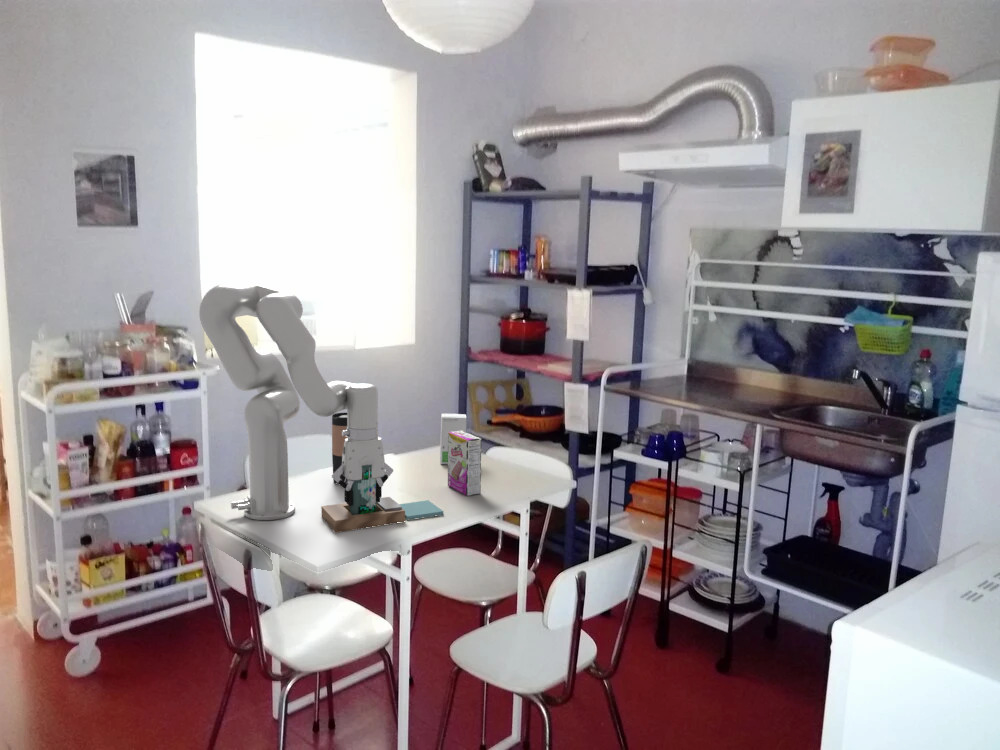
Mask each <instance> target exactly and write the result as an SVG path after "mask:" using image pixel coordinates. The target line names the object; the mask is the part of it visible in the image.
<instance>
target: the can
mask: <svg viewBox="0 0 1000 750" xmlns="http://www.w3.org/2000/svg"><path fill="white" fill-rule="evenodd" d="M369 468H370V469H369ZM369 470H370V478H369ZM351 490H352V491H353V505H352V506H350V513H351V514H352V515H359V514H366V513H373V512H376V479H373V478H372V465H365V466H362V480H358V481H354V482H353V484H352V487H351Z"/></svg>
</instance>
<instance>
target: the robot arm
mask: <svg viewBox="0 0 1000 750" xmlns="http://www.w3.org/2000/svg"><path fill="white" fill-rule="evenodd" d="M303 309H304V308H303V304H302V302H301V300H300V299H299V298H298V297H297V296H296V295H295V294H293V293H291V292H288V291H284V290H280V289H276V288H272V287H268V286H264V285H261V284H256V283H253V282H246V281H245V282H231V283H222V284H218V285H215V286H213V287H212V288H211V289H209V290H208V291H207V292H206V293H205V295H204V296H203V298H202V300H201V302H200V305H199V315H198V316H199V321H200V325H201V327H202V329H203V331H204V332H205V335H206V336H207V338H208V339H209V341H210V343H211V344H212V345H211V346H213V348H214V350H215V352H216V355H217V356H218V358H219V360H220V362H221V364H222V366H223V368H224V370H225V371H226V373H227V376H228V377H229V379H230V381H231V382H232V385H233V386H234V387H235V388H236V389H237V390H238V391H239V390H240V391H241V392H251V391H254V390H256V391H257V394H255V395H254V396H253V397H252V398H250V399H249V401H247V403H246V405H245V407H244V413H243V414H244V416H243V417H244V423H245V428H246V432H247V433H246V435H247V441H248V444H247V445H248V465H249V470H248V471H249V494H247V496H246V497H247V498H243V500H233V501H230V507H231V510H235V509H237V510H238V511H244V512H243V513H244V514H243V516H245V517H246V518H247V519H251V520H254V521H274V520H280V519H284V518H288V517H289V516H290V517H291V516H292V515H293V514H294V513H296V506H295V505H294V504H293V503H292V502H289V501H290V498H289V497H290V493H289V492H290V491H289V488H290V487H289V452H288V450H289V449H288V438H287V435H286V431H285V424H286V423H288V422H290V421H291V420H293V419H294V418H295V417H296V416H298V413H299V411H300V407H301V402H300V398H301V399H302V401H303V402H304V403H305V405H306V406H307V408H308V409H309V410H310V411H311V412H312V413H313V414H315V415H316V416H320V417H323V418H325V417H330V416H331V417H332V415H333V414H336V413H339V412H341V411H344V410H346V413H347V429H346V430H345V431H342V436H347V439H345V442H344V448H343V455H342V465H341V466H340V467H339V468H338V469H337V470H336V471H335V473H334V474H333V473H332V475H331V478H332V479H334V480H335V481H336V482H337V483H338V484H337V485H339V484H340V485H339V486H341V487H342V488H343V489H344V496H343V497H344V503H347V504H348V505H349V506H352V505H353V491H352V490H351V487H352V484H353V482H354V481H358V480H362V466H365V465H372V478H373V479H376V502H380V498H382V489H383V487H384V484H385V483H386V481H387V480H389V477H390V476H391V475H392V474H393V472H394V469H393V468H392V467H391V466H390V465H388V464H387V463H386V462H385V453H384V451H385V450H384V445H383V441H382V440H383V439H382V437H379V391H378V387H377V386H376V385H375V384H372V383H354V382H353V383H352V382H348V381H342V380H332V381H329V382H327V381H326V380H325V379H324V377H323V376H322V374H321V373H320V371H319V369H318V367H317V363H316V360H315V359H316V358H315V353H316V344H317V343H316V339H315V338H314V337H313V335H312V334H311V332H310V331H309V330H308V328H307V327H306V325H305V324H304V323H303V321H302V320H301V318H302V316H303V312H304V310H303ZM243 316H250V317H254V318H257V319H258V321H259V323H260V324H261V326H262V327H263V329H264V330H265V331H266V332H267V334H268V336H269V337H270V338H271V340H272V341H273V343H274V344H275V346H276V347H277V349H278V350H279V352H280V353H281V354H282V356H283V358H284V359H285V361H286V366H287V370H288V372H287V371H286V369H285V368H284V366H283V364H282V363H281V361H280V359H279V358H278V357H277V356H276V355H275V354H274V353H272V352H271V351H269V350H265V349H259V350H256V349H255V347H254V346H253V344H252V343H251V341H250V338H249V336H248V335H247V333H246V331H245V330H244V329H243V328H242V327H241V326H240V325H239V323H238V322H237V320H236V318H237V317H238V318H239V317H243ZM288 373H289V375H288ZM289 376H290V377H289ZM299 396H300V397H299ZM369 469H370V468H369ZM341 474H342V475H343V476H345V477H346V479H345V481H343V480H342V479H340V475H341ZM369 478H370V470H369Z"/></svg>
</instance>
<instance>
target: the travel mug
mask: <svg viewBox="0 0 1000 750" xmlns="http://www.w3.org/2000/svg"><path fill="white" fill-rule="evenodd" d="M346 429H347V412H336V413H335V414H333V415H331V455H332V456H331V457H332V458H331V459H332V475H333V474H334V473H335V471H336V470H337V469H338V468H339V467H340V466H341V465H342V455H343V448H344V442H345V439H347V436H342V431H345V430H346ZM332 479H333V478H332ZM340 479H342V480H343V481H345V479H346V477H345V476H343V475H342V474H341V475H340ZM333 483H334V484H335V483H337V482H336V481H335V480H334V479H333ZM336 485H339V484H338V483H337V484H336Z"/></svg>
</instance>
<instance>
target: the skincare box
mask: <svg viewBox="0 0 1000 750" xmlns="http://www.w3.org/2000/svg"><path fill="white" fill-rule="evenodd" d="M440 416H441V419H440V439H439V440H440V445H439V446H440V447H439V464H440V465H448V432H451V431H461V430H462V431H464V432H467V420H468V418H467V414H465V413H464V414H462V413H441V415H440Z"/></svg>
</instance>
